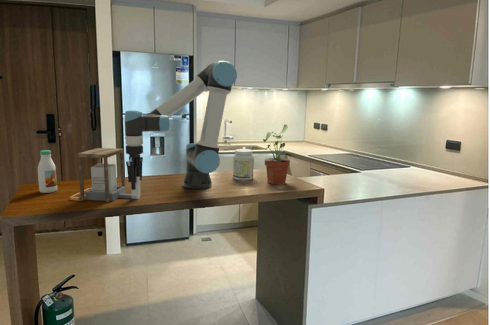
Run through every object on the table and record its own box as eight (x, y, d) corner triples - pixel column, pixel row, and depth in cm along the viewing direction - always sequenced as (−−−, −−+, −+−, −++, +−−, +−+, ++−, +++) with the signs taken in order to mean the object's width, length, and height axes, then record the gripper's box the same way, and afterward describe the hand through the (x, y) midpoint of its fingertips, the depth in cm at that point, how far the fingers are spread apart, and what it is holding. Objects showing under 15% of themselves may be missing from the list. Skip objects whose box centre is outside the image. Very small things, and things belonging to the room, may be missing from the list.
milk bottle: (39, 193, 168) (35, 152, 164) (39, 190, 175) (36, 149, 171) (57, 192, 171) (54, 151, 168) (57, 188, 178) (54, 149, 174)
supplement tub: (240, 175, 218) (241, 148, 215) (257, 178, 211) (258, 150, 208) (228, 178, 208) (228, 150, 205) (245, 182, 201) (246, 152, 198)
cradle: (144, 194, 171) (143, 174, 170) (133, 202, 159) (132, 180, 157) (100, 191, 174) (99, 172, 172) (85, 199, 161) (84, 178, 159)
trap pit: (99, 190, 176) (99, 188, 176) (79, 200, 159) (79, 198, 159) (89, 190, 176) (89, 187, 176) (69, 199, 160) (68, 197, 160)
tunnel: (125, 192, 175) (123, 148, 171) (108, 202, 158) (105, 154, 154) (100, 190, 176) (98, 147, 172) (80, 200, 159) (77, 153, 155)
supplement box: (98, 193, 171) (97, 163, 168) (117, 193, 171) (116, 163, 169) (91, 199, 162) (90, 166, 159) (111, 199, 163) (110, 167, 160)
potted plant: (272, 178, 212) (274, 119, 206) (293, 182, 202) (297, 121, 196) (255, 182, 201) (257, 120, 194) (277, 187, 191) (280, 122, 184)
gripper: (133, 142, 169) (135, 190, 173) (118, 146, 153) (120, 199, 158) (148, 143, 168) (150, 191, 172) (135, 147, 153) (136, 200, 157)
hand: (135, 194), depth 165 cm, fingers closed on cradle, 2 cm apart
